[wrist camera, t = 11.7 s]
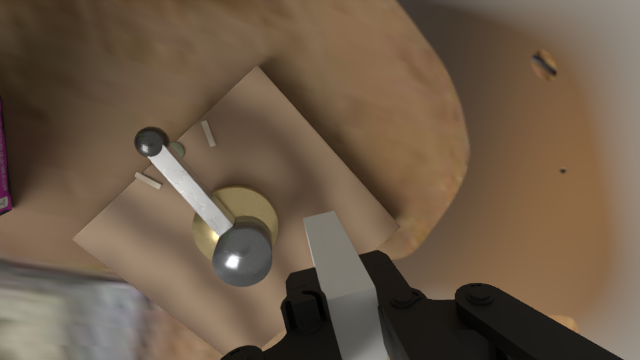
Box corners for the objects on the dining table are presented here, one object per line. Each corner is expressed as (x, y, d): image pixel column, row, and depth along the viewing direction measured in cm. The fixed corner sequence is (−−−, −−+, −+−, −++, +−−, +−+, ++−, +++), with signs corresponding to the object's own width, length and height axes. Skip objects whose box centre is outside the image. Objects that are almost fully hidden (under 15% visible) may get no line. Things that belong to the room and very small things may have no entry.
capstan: (293, 229, 35) (298, 254, 30) (230, 274, 36) (223, 307, 30) (189, 99, 31) (172, 101, 25) (117, 152, 31) (86, 165, 26)
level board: (240, 354, 41) (238, 368, 39) (79, 228, 35) (67, 237, 32) (394, 220, 39) (401, 227, 37) (255, 63, 33) (254, 61, 31)
